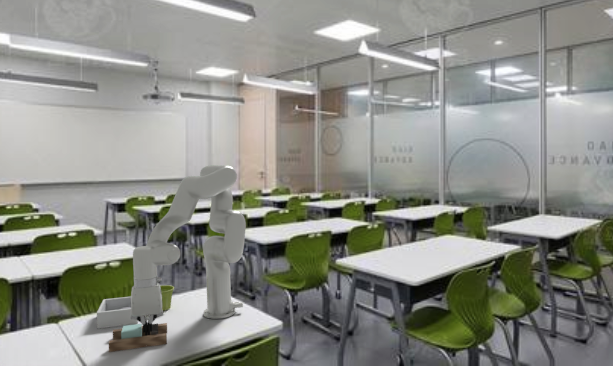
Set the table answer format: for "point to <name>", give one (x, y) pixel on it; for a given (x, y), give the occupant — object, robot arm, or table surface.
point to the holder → (114, 313)
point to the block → (131, 331)
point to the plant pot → (166, 296)
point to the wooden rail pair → (139, 339)
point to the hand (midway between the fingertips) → (147, 333)
